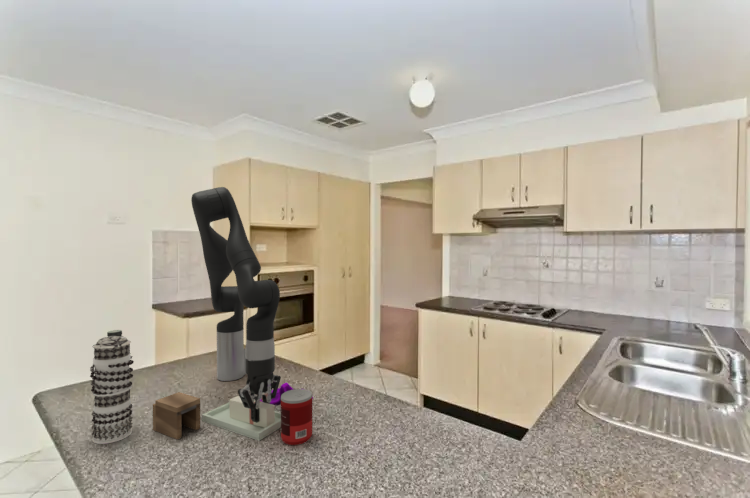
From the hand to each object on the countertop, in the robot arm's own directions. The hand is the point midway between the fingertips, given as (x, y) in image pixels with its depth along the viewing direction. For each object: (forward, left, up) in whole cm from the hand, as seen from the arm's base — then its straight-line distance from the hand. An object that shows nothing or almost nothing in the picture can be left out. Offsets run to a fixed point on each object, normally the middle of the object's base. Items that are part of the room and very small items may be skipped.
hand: (260, 418), depth 103 cm
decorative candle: (+22, -29, -2) cm, 37 cm away
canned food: (0, +12, -2) cm, 13 cm away
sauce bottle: (+5, -61, -2) cm, 61 cm away
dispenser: (+12, -18, -2) cm, 21 cm away
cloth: (-17, -5, -3) cm, 18 cm away
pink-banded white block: (0, -3, -1) cm, 4 cm away
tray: (0, -6, -2) cm, 6 cm away
